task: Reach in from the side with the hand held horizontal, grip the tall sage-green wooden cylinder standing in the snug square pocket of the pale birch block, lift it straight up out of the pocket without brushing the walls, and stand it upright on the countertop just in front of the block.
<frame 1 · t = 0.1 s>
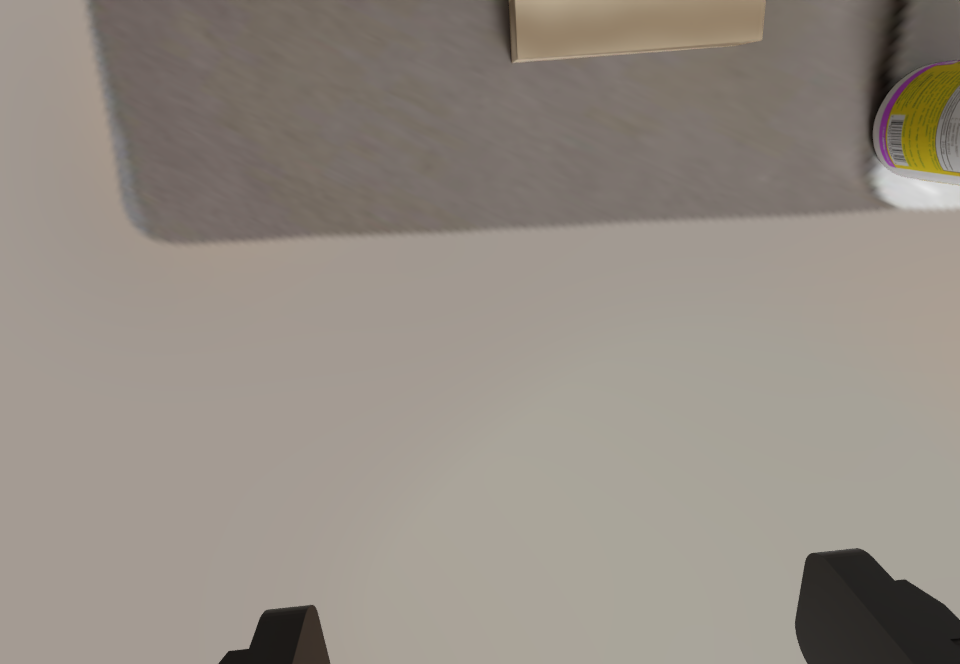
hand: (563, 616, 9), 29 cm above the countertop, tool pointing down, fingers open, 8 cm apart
supplement bottle: (917, 121, 36), on the countertop
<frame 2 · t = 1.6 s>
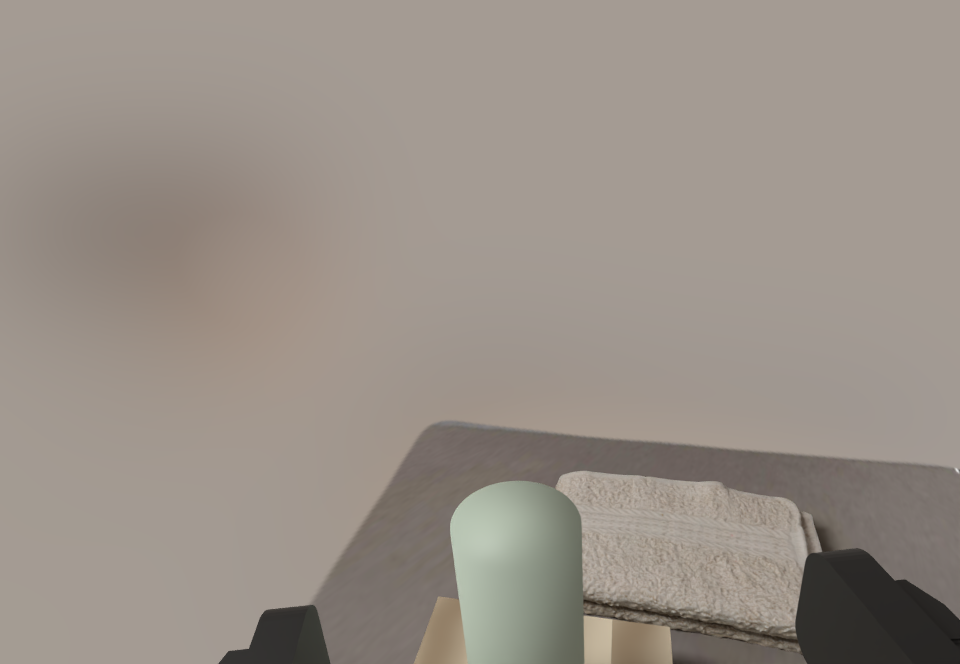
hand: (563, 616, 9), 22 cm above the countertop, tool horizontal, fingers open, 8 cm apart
green cylinder: (525, 659, 25), in the pocket block
washcloth: (675, 568, 39), on the countertop
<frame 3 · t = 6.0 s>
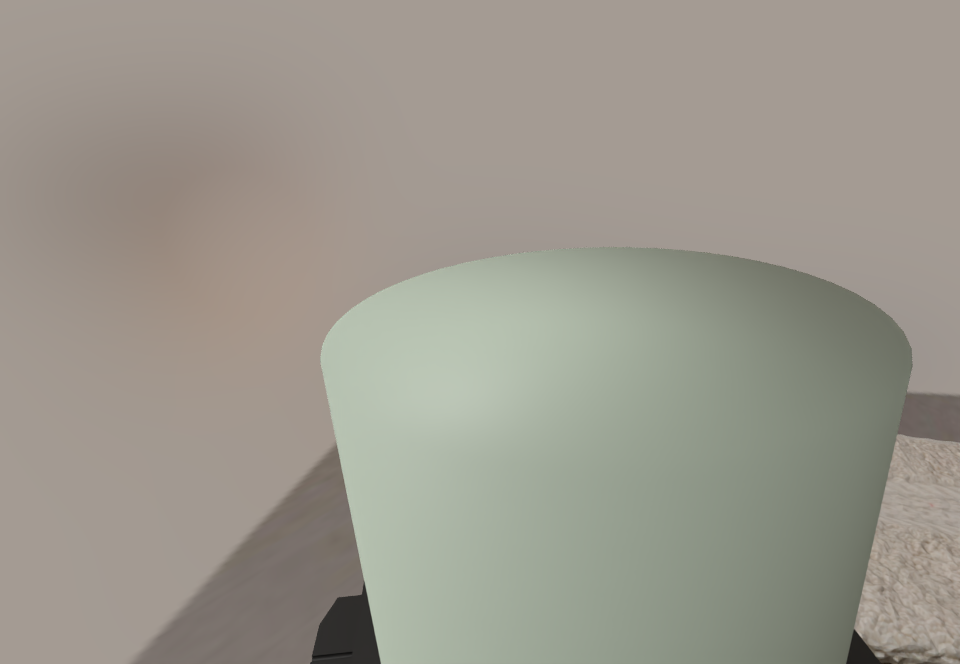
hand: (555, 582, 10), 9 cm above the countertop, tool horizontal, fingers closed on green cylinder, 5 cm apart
washcloth: (823, 568, 22), on the countertop
when the fingers open (10 cm above the countertop, at t = 14.0 s): green cylinder drops 1 cm, on the countertop.
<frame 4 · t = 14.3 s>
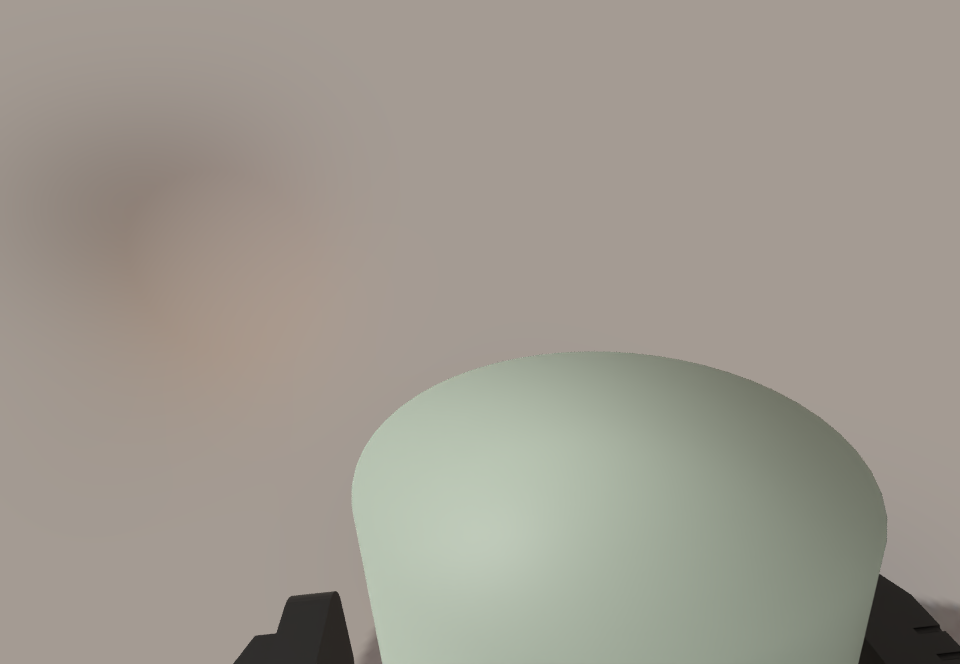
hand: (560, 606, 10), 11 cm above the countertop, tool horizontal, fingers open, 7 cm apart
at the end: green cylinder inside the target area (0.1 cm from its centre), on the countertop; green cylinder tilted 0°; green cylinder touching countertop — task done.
